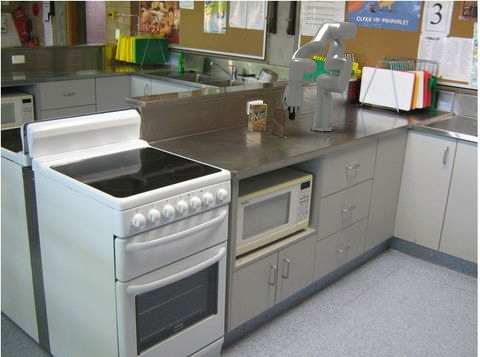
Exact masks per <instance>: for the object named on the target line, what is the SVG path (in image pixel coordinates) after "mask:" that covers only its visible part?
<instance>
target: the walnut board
mask: <svg viewBox="0 0 480 357" xmlns="http://www.w3.org/2000/svg"><path fill="white" fill-rule="evenodd" d="M286 118H287V109H285V108H283V107H282V108H281V107H278V106H274V109H273V121H272V122H273V123H272V131H271V132H272V134H273V135H275V136H278V137H279V138H285V137H284V136H285V130H286V120H287V119H286Z"/></svg>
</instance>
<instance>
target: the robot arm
mask: <svg viewBox="0 0 480 357" xmlns="http://www.w3.org/2000/svg"><path fill="white" fill-rule="evenodd" d="M357 34H358V27H357V25H356V23H354V22H346V21H325V22H322V23H321V25H320V26H319V27H318V29H317V30H316V32H315V34H314V36H313V37H312V39H311V40H310V41H309V42H307V43H305V44H304V45H302V46H301V47H299V48H298V49H297V50H296V51H295V52H294V53H293V55H292V57H291V59H290V60H289V66H288V76H287V85H286V86H285V89H284V91H283V95H282V105H283V107H282V109H285V110H286V111H288V120H291V121H295V120H296V119H295V118H296V113H297V111H298V110H300V109H303V105H304V100H305V99H304V96H305V95H304V93H305V92H304V87H303V86H304V85H305V81H304V75H312V74H314V73H315V72H316V71H317V67H318V66H317V62H316V61H315V60H313V59H310V58H308V57H311V56H313V55H317V54H320V53H321V54H322V53H323V52H324V51H326V48H327V47H328V45H329V49H328V51H327V54H326V58H325V61H324V65H323V68H324V70H325V71H326V72H327V73H321V74H319V75H318V76H317V77H316V81H315V86H316V90H315V91H316V95H315V97H316V98H315V104H314V105H315V106H314V107H315V108H314V114H313V123H312V124H313V125H312V126H313V127H315V128H323V129H324V128H330V127H332V126H337V127H338V123H332V115H333V106H334V97H333V95H332V93H334V94H343V93H345V92H346V90H347V88H348V85H349V82H350V78H351V76H352V72H353V69H354V61H353V59H352V58H351V57H349V56H345V55H344V54H345V49H346V47H345V44H344V42H343V41H344V40H352V39H354V38H356V35H357ZM332 128H333V127H332Z"/></svg>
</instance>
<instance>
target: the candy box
mask: <svg viewBox="0 0 480 357" xmlns="http://www.w3.org/2000/svg"><path fill="white" fill-rule="evenodd" d="M248 107H249V110H248V124H247V125H248V126H247V131H250V132H253V133H254V132H266V130H267V129H266V128H267V115H268V104H266V103H249V106H248Z"/></svg>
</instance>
